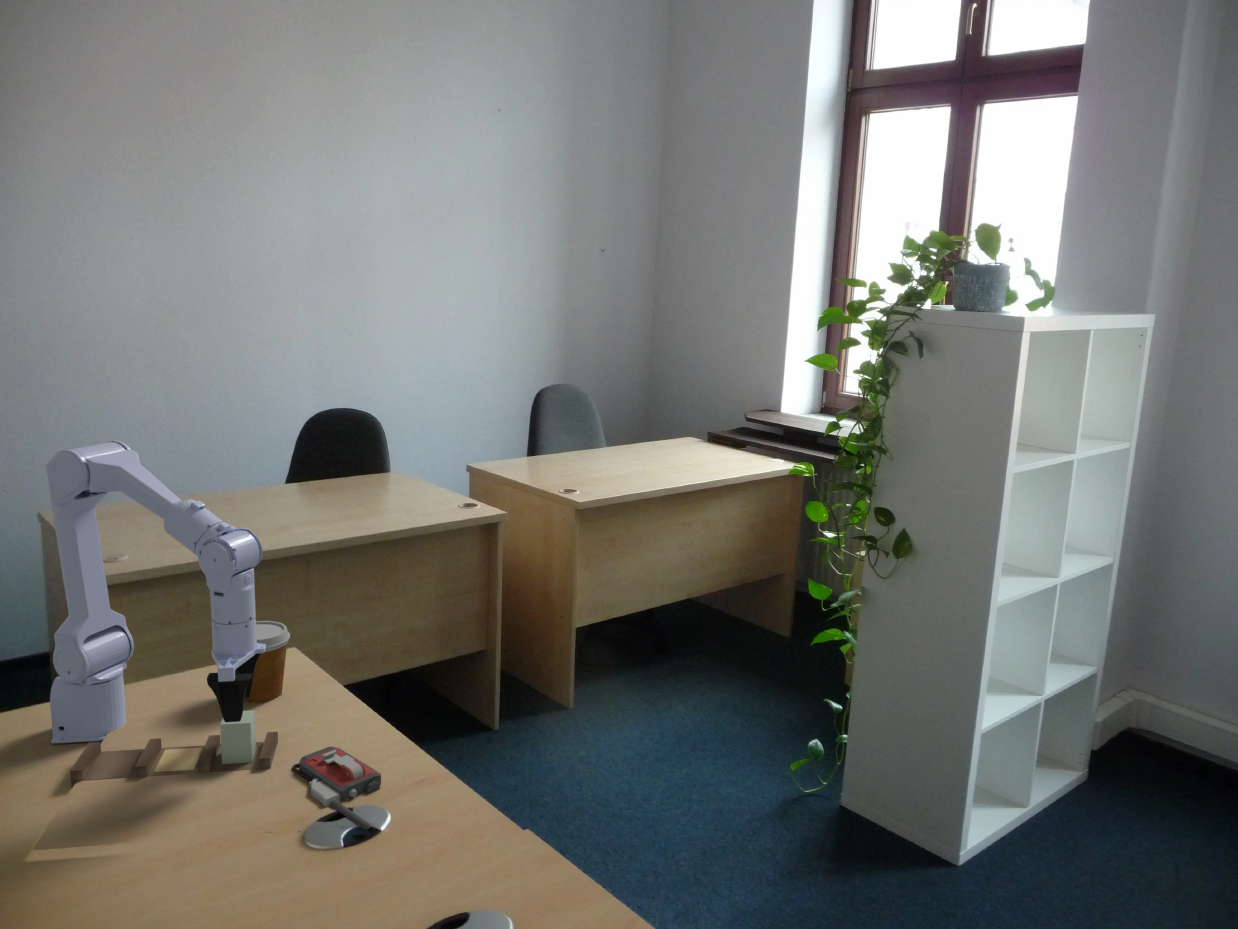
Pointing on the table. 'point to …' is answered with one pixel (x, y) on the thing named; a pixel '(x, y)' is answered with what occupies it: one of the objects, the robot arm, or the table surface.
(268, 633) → the disposable coffee cup
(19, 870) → the table surface
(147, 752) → the notch rail
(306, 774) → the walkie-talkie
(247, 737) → the sage block
